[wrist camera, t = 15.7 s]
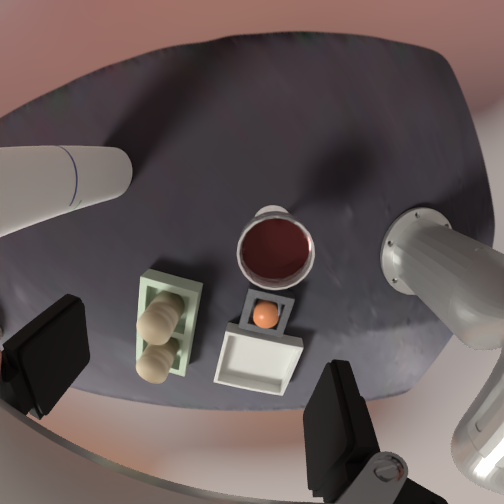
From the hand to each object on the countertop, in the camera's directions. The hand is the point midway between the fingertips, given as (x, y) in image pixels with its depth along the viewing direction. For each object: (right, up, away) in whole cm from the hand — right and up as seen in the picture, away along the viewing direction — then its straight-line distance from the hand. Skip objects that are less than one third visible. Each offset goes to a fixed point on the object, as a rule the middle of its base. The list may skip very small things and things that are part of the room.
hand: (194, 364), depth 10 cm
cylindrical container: (-17, +15, +25) cm, 34 cm away
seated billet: (-9, -3, +29) cm, 31 cm away
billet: (-11, -10, +31) cm, 35 cm away
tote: (+3, -12, +32) cm, 35 cm away
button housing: (+4, -3, +30) cm, 30 cm away
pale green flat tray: (-10, -6, +31) cm, 33 cm away
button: (+4, -4, +29) cm, 29 cm away
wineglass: (+5, +7, +26) cm, 28 cm away
